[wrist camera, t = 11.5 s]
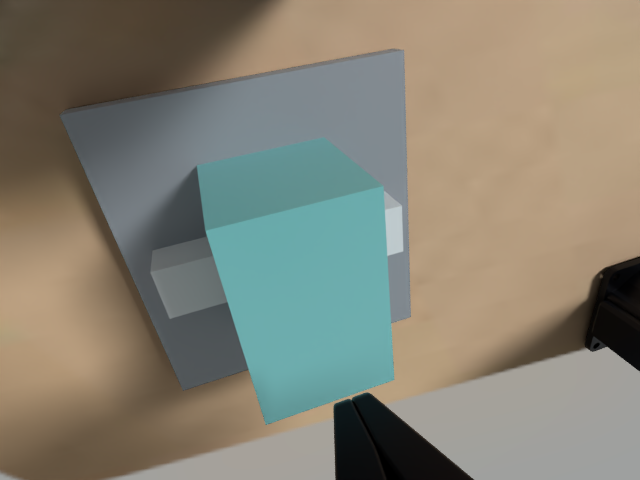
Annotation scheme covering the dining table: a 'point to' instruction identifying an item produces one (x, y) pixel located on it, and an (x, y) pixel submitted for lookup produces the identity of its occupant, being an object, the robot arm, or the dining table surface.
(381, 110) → the board
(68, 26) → the dining table surface
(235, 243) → the block
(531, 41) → the dining table surface
